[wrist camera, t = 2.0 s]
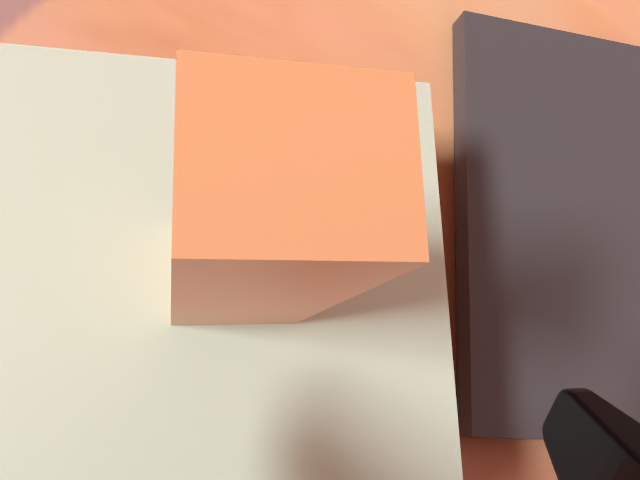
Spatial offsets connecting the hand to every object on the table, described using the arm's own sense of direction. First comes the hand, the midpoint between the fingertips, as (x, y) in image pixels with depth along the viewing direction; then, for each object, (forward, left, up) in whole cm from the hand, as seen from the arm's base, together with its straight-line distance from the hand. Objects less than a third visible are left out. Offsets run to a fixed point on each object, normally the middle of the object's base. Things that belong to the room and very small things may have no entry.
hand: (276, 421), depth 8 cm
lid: (+3, 0, -8) cm, 8 cm away
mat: (+7, -15, -11) cm, 20 cm away
